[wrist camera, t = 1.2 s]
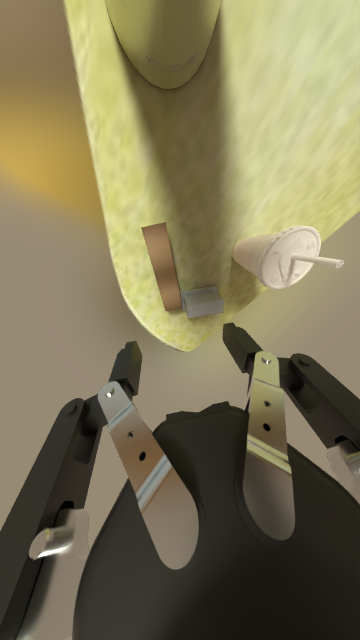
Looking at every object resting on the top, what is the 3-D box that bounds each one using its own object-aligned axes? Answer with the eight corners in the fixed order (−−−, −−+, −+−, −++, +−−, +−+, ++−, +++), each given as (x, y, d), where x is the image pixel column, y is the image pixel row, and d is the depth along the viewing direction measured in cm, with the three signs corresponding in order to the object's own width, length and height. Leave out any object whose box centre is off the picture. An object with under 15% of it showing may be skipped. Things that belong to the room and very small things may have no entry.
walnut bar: (143, 228, 19) (141, 227, 16) (164, 223, 19) (165, 222, 16) (164, 302, 26) (165, 311, 23) (179, 298, 26) (182, 307, 23)
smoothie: (264, 224, 20) (405, 212, 9) (258, 267, 24) (351, 298, 12) (224, 232, 20) (314, 232, 9) (224, 274, 24) (286, 313, 12)
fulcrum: (179, 291, 24) (183, 303, 20) (215, 285, 25) (227, 295, 21) (181, 308, 26) (185, 321, 22) (215, 302, 27) (225, 315, 23)
